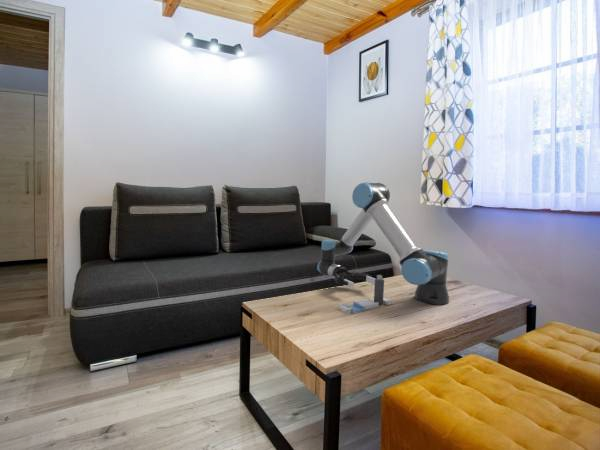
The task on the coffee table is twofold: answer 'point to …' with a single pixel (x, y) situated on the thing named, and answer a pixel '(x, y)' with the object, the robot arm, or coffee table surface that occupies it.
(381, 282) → the cable plug
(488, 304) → the coffee table surface
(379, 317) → the coffee table surface
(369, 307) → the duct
